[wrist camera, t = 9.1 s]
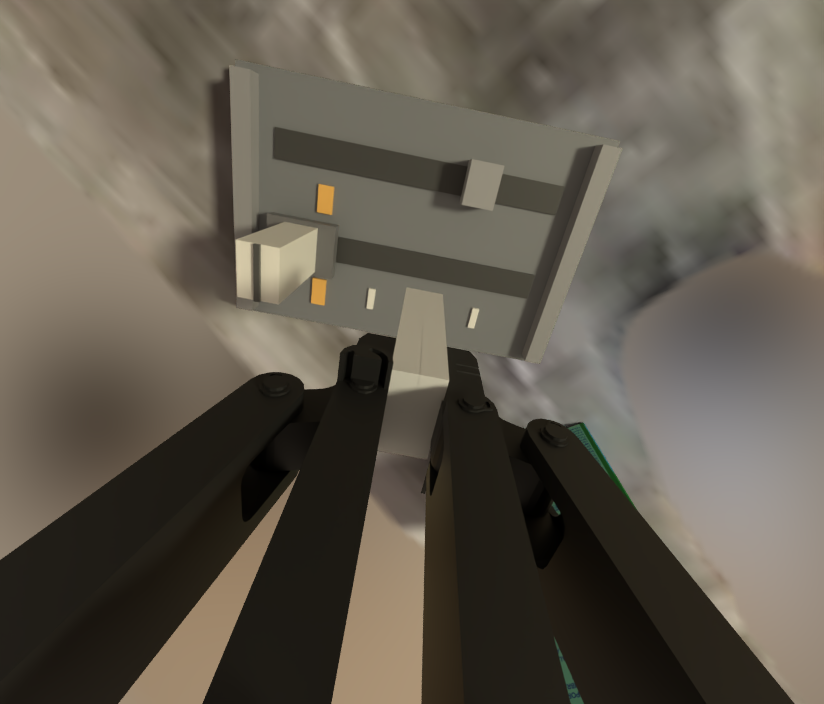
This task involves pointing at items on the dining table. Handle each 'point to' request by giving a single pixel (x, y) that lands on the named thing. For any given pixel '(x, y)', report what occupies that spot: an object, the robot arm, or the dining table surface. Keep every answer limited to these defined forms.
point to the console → (418, 205)
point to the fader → (284, 257)
